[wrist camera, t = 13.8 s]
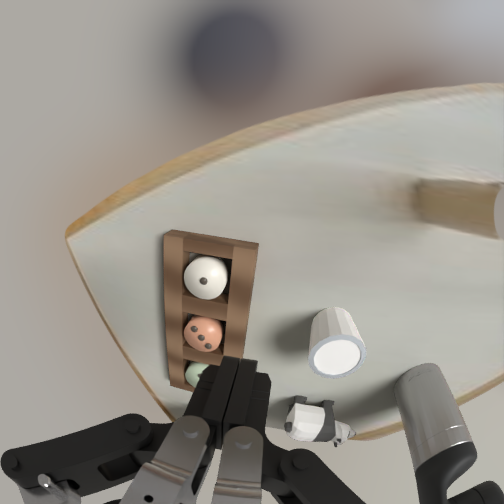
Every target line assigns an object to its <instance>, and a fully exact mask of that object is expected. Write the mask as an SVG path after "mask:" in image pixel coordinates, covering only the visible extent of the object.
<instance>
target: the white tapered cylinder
mask: <svg viewBox="0 0 504 504" xmlns="http://www.w3.org/2000/svg"><path fill="white" fill-rule="evenodd" d="M365 358H366V347H365V345H364V343H363V341H362V339H361V336H360V334H359V332H358V330H357V328H356V326H355V324H354V322H353V320H352V318H351V316H350V314H349V313H348V312H347V311H345V310H344V309H342V308H337V307H331V308H326V309H324V310H322V311H320V312H319V313H318V314H317V315H316V316H315V317H314V319H313V321H312V324H311V335H310V345H309V354H308V361H309V366H310V368H311V369H312V370H313V371H314V373H316V374H318V375H320V376H322V377H326V378H339V377H345V376H347V375H349V374H351V373H353V372H355V371H356V370H357V369H358V368H359V367H360V366H362V364H363V362H364V360H365Z"/></svg>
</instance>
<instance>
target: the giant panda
mask: <svg viewBox="0 0 504 504" xmlns="http://www.w3.org/2000/svg"><path fill="white" fill-rule="evenodd" d="M306 400H307V397H303V396H296V397H295V399H294V404H293V405H290V407H289V412H288V415H287V420H286V423H285V426H284V427H285V431H286V433H287V435H288V436H289V437H290V438H292V439H294V440H299V441H314V442H316V441H317V442H318V441H321V442H327V441H330V440H331V441H333V442H334V446H335V447H337V445H339V444H343V443H344V442H345V441H346V440H347V439H348V438H351V437H353V436H355V434H356V432H355V431H354V430H352V429H351V428H350V426H349V425H347V424H346V423H342V422H339V421H335V420H334V415H333V409H332V405H334V401H330V400H324V401H323V402H322V407H316V406H309V405H305V404H304V402H305V401H306Z"/></svg>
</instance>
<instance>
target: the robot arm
mask: <svg viewBox="0 0 504 504" xmlns="http://www.w3.org/2000/svg"><path fill="white" fill-rule="evenodd" d="M257 363H258V361H256V360H250V359H244V358H241V361H240V358H237V357H231V356H226V355H224V356H223V359H222V361H221V364H220V366H218V365H213V364H210V365H209V366H208V367H206V368H205V369H204V370H203V371H202V373H201V376H200V378H199V381H198V383H197V385H196V388H195V390H194V392H193V394H192V397H191V399H190V402H189V404H188V406H187V409H186V411H185V413H184V415H183V416H182V417H180V418H178V419H177V420H176V421H175V422H172V423H168V424H158V423H149V421H148V420H147V419H146V418H145V417H143V416H142V415H139V414H126V415H123V416H121V417H118V418H115V419H113V420H110V421H107V422H105V423H102V424H99V425H96V426H93V427H90V428H88V429H84V430H81V431H78V432H75V433H72V434H68V435H65V436H62V437H58V438H55V439H52V440H48V441H44V442H40V443H36V444H32V445H28V446H24V447H19V448H15V449H10V450H7V451H6V452H4V454H3V455H2V457H1V467H2V470H3V471H4V473H5V474H6V475H7V476H8V477H10V478H11V479H12V480H13V481H14V482H15V483H16V484H17V485H18V487H19V490H20V492H21V495H22V498H23V501H24V503H25V504H81V497H83V496H86V495H90V494H93V493H96V492H99V491H102V490H105V489H108V488H111V487H113V486H116V485H119V484H122V483H124V482H127V481H129V480H132V479H134V480H133V482H132V483H131V485H130V486H129V488H128V490H127V492H126V493H125V495H124V497H123V498H122V499H118V500H113V501H110V502H107V503H104V504H196V500H197V496H198V494H199V491H200V489H201V486H202V484H203V482H204V480H205V477H206V475H207V472H208V470H209V467H210V465H211V461H212V458H213V455H214V451H215V449H220V450H221V449H222V454H221V460H220V465H219V471H218V477H217V482H216V484H215V488H214V492H213V498H212V503H211V504H261V499H262V490H261V489H264V490H266V491H269V492H271V494H272V496H273V497H274V498H275V499H276V501H277V502H278V503H279V504H366V503H365V502H363V501H362V500H361V499H360V498H359V497H358V496H357V495H356V494H355V493H354V492H353V491H352V490H351V489H350V488H348V487H347V486H346V485H345V484H344V483H343V482H342V481H341V480H340V479H339V478H338V477H337V476H336V475H335V474H334V473H333V472H332V471H331V470H330V469H329V468H328V467H327V466H326V465H325V464H324V463H323V462H322V460H321V459H320V458H319V457H318V456H317V455H316V454H315V453H313V452H312V451H309V450H307V449H293V450H290V451H288V450H285V449H282V448H280V447H278V446H276V445H274V444H272V443H271V442H270V441H269V440H268V438H267V437H266V434H265V424H266V418H267V411H268V404H269V397H270V389H271V381H270V378H269V376H268V374H266V373H259V372H256V370H257ZM394 394H395V398H396V401H397V405H398V408H399V412H400V415H401V419H402V422H403V426H404V430H405V434H406V438H407V442H408V446H409V450H410V454H411V458H412V462H413V467H414V472H415V477H416V482H417V489H418V495H419V502H420V504H504V494H503V492H502V490H501V489H500V487H499V486H498V485H497V484H496V483H495V482H493V481H486V482H483V483H481V484H479V485H477V486H475V487H473V488H471V489H469V490H467V491H465V492H463V493H460V494H458V495H456V496H454V497H452V498H450V499H447V495H446V494H447V489H448V487H449V486H450V485H451V484H452V483H453V482H454V481H455V480H456V479H457V478H459V477H460V476H461V475H462V474H464V473H465V472H466V471H467V470H468V469H469V468H470V467H471V466H472V465H473V464H474V462H475V461H476V459H477V451H476V448H475V446H474V444H473V441H472V438H471V436H470V433H469V431H468V428H467V426H466V424H465V421H464V419H463V417H462V414H461V412H460V410H459V407H458V405H457V403H456V401H455V399H454V396H453V394H452V392H451V390H450V388H449V386H448V384H447V382H446V380H445V378H444V376H443V374H442V372H441V370H440V368H439V367H438V365H436V364H433V363H425V364H421V365H418V366H416V367H414V368H412V369H410V370H409V371H407V372H406V373H405V374H403V375H402V376H401V377H400V378H399V379H398V381H397V382H396V384H395V387H394ZM222 445H223V448H222Z"/></svg>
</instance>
